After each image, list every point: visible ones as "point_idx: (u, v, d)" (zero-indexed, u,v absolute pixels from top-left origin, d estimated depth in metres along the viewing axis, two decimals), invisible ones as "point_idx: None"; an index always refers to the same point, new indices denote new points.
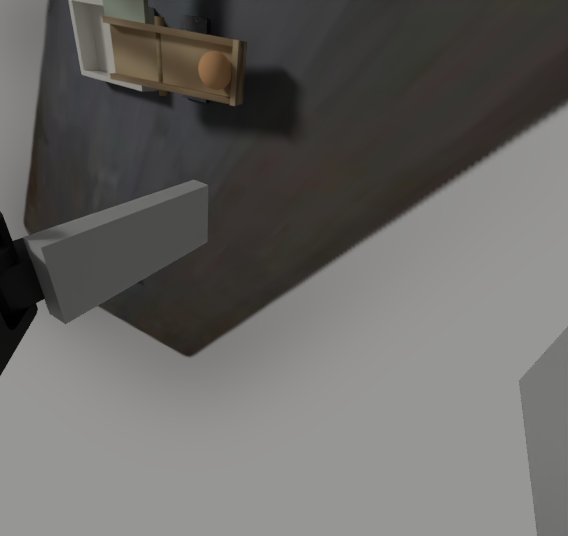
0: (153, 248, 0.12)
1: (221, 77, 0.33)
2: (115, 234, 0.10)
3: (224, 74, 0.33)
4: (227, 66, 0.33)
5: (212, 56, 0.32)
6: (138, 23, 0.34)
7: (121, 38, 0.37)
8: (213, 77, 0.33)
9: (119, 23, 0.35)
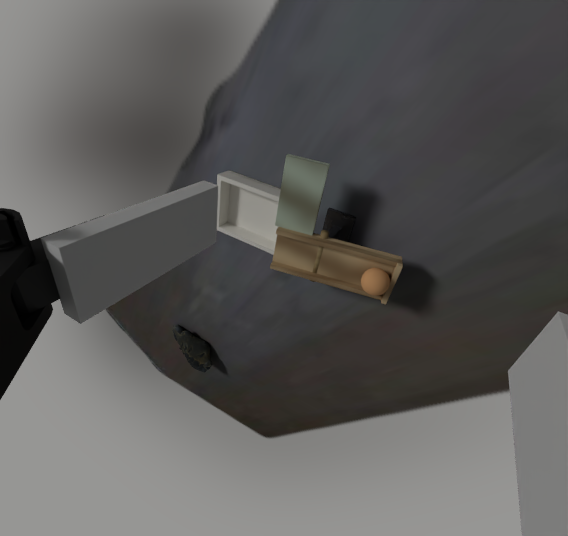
0: (165, 248, 0.12)
1: (384, 292, 0.39)
2: (129, 234, 0.10)
3: (386, 289, 0.39)
4: (389, 282, 0.39)
5: (379, 278, 0.39)
6: (309, 239, 0.40)
7: (285, 241, 0.43)
8: (378, 293, 0.39)
9: (291, 236, 0.41)
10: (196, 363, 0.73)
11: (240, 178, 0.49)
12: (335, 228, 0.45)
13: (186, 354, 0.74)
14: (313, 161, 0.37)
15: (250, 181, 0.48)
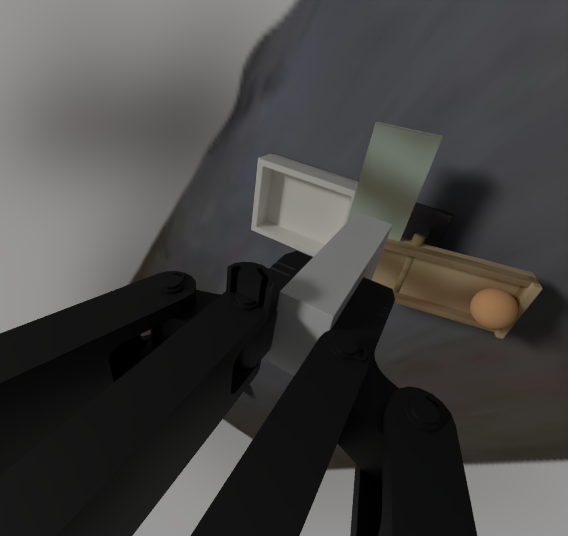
0: None
1: (509, 324, 0.27)
2: None
3: None
4: (517, 311, 0.27)
5: (506, 305, 0.26)
6: (398, 247, 0.28)
7: None
8: (501, 326, 0.27)
9: None
10: None
11: (288, 163, 0.37)
12: (423, 230, 0.33)
13: None
14: (417, 131, 0.24)
15: (301, 167, 0.36)
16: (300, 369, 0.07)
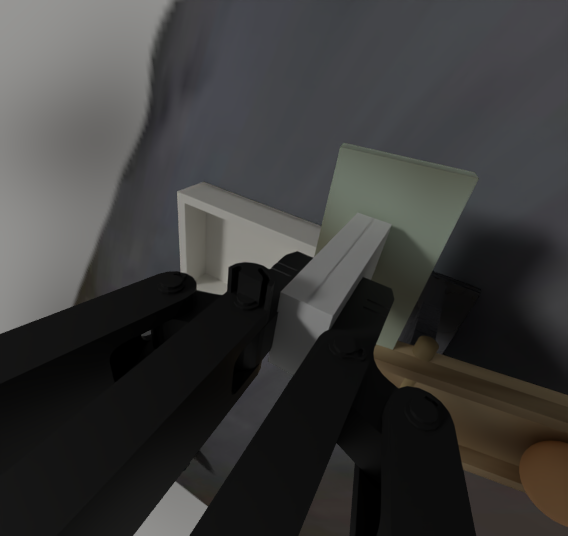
0: None
1: None
2: None
3: None
4: None
5: None
6: (389, 365, 0.16)
7: None
8: None
9: None
10: None
11: (223, 199, 0.24)
12: (430, 312, 0.20)
13: None
14: (425, 164, 0.12)
15: (242, 205, 0.24)
16: (298, 368, 0.07)
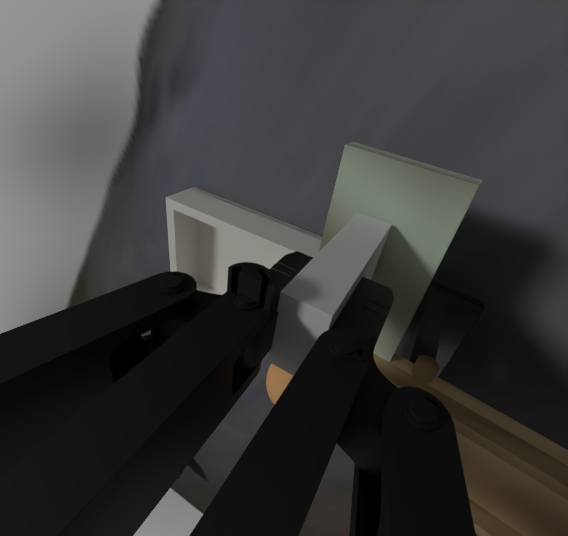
0: None
1: (274, 402, 0.17)
2: None
3: None
4: None
5: None
6: None
7: None
8: (267, 390, 0.17)
9: None
10: None
11: (214, 205, 0.23)
12: (430, 326, 0.19)
13: None
14: (426, 167, 0.12)
15: (234, 212, 0.23)
16: (299, 369, 0.07)
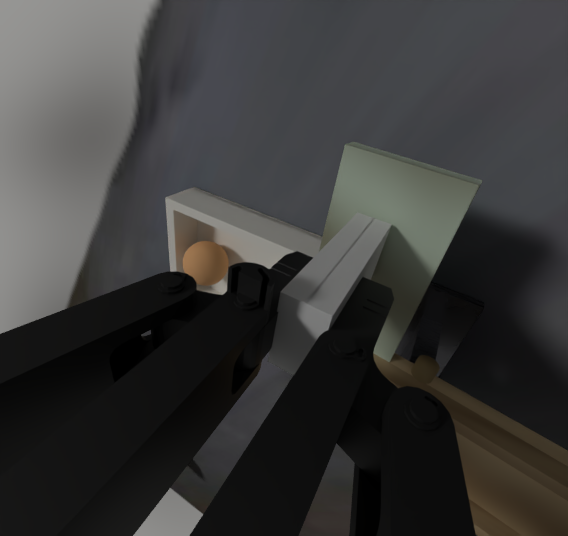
0: None
1: (184, 270, 0.25)
2: None
3: (184, 269, 0.24)
4: (190, 264, 0.24)
5: (192, 245, 0.25)
6: None
7: None
8: None
9: None
10: None
11: (213, 205, 0.23)
12: (430, 326, 0.19)
13: None
14: (426, 167, 0.12)
15: (233, 212, 0.23)
16: (299, 369, 0.07)
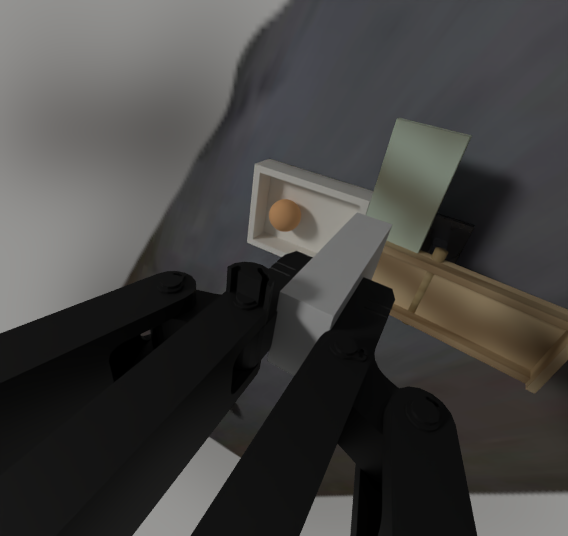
0: None
1: (275, 223, 0.34)
2: None
3: (278, 221, 0.34)
4: (284, 216, 0.33)
5: (276, 203, 0.34)
6: (412, 258, 0.25)
7: None
8: (270, 220, 0.35)
9: (383, 250, 0.26)
10: None
11: (288, 169, 0.33)
12: (440, 242, 0.29)
13: None
14: (442, 129, 0.22)
15: (303, 173, 0.33)
16: (299, 369, 0.07)
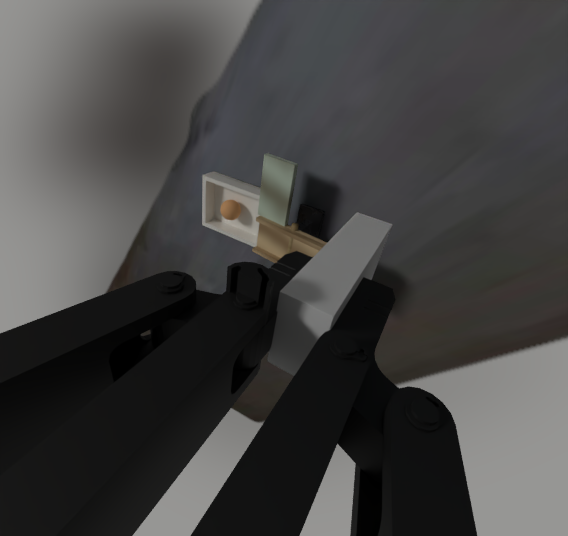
0: None
1: (232, 216, 0.55)
2: None
3: (234, 214, 0.55)
4: (236, 210, 0.54)
5: (227, 204, 0.54)
6: (279, 229, 0.46)
7: (265, 229, 0.49)
8: (227, 216, 0.55)
9: (266, 224, 0.47)
10: None
11: (223, 178, 0.54)
12: (307, 222, 0.50)
13: None
14: (284, 160, 0.43)
15: (231, 181, 0.54)
16: (300, 369, 0.07)
